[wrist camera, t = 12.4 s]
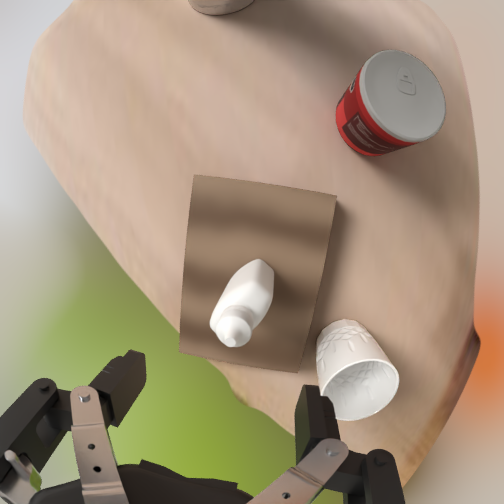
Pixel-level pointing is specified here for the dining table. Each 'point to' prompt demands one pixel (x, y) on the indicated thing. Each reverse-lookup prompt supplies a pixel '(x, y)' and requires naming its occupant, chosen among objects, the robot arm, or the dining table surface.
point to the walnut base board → (246, 250)
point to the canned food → (390, 104)
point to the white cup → (354, 371)
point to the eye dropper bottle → (243, 303)
